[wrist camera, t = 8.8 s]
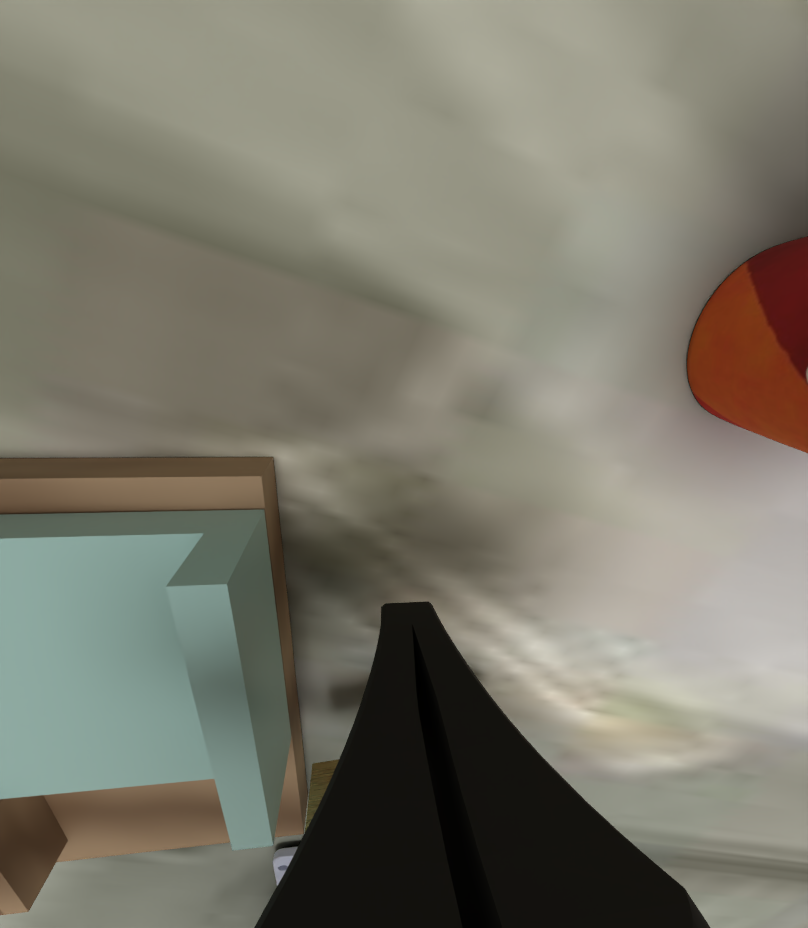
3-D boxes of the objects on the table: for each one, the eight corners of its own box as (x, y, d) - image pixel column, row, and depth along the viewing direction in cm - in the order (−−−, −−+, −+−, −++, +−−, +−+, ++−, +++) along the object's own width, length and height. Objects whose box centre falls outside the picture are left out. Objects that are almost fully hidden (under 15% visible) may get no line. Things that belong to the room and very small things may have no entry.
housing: (308, 794, 18) (296, 896, 15) (-56, 832, 17) (-155, 956, 13) (272, 457, 12) (239, 511, 9) (-339, 459, 10) (-671, 529, 7)
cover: (291, 737, 14) (272, 846, 11) (4, 761, 13) (-98, 888, 10) (264, 509, 11) (226, 584, 8) (-137, 517, 10) (-358, 607, 7)
